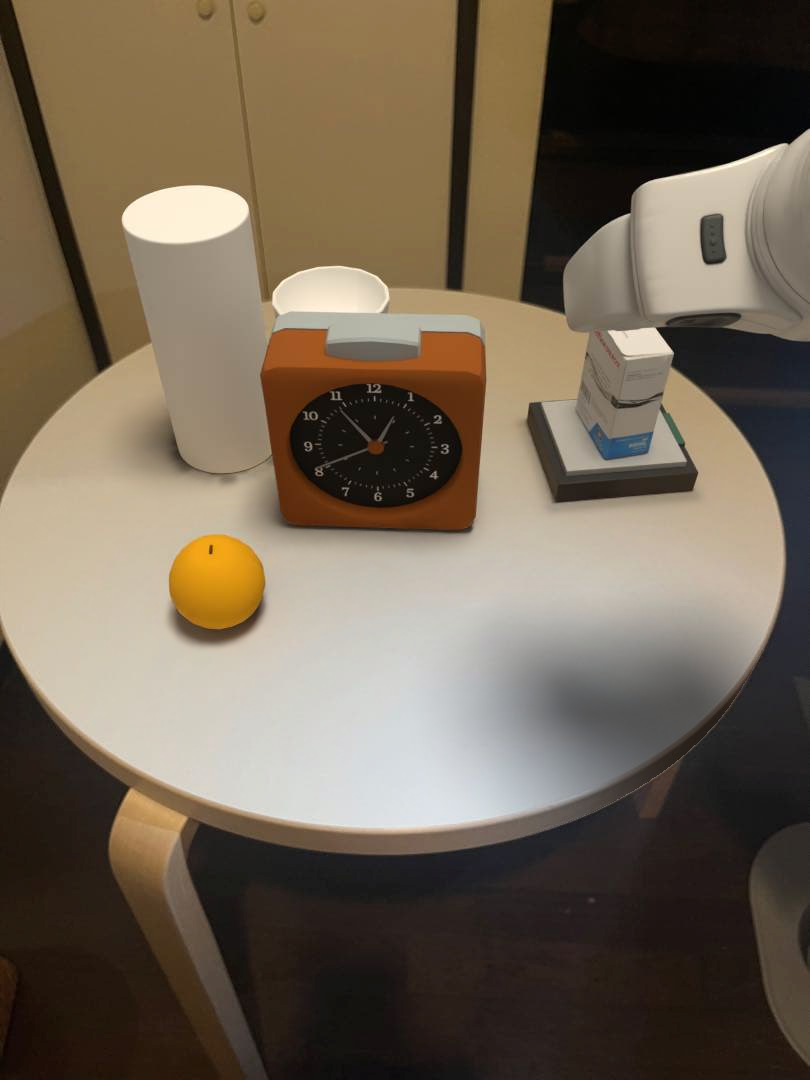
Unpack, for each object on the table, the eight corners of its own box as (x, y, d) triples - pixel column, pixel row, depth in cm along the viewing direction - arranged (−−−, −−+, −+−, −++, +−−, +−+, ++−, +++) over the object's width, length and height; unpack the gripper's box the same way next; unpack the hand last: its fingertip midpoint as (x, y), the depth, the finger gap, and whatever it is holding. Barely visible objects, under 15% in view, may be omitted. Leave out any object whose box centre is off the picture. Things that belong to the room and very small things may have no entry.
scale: (651, 410, 95) (657, 387, 92) (693, 490, 86) (700, 467, 83) (526, 420, 93) (529, 397, 91) (555, 502, 85) (559, 478, 82)
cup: (260, 394, 97) (247, 307, 89) (320, 340, 104) (313, 255, 96) (355, 428, 92) (350, 339, 84) (410, 369, 100) (411, 282, 92)
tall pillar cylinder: (300, 435, 92) (274, 208, 74) (225, 488, 86) (177, 255, 68) (232, 396, 96) (192, 173, 78) (156, 444, 91) (94, 215, 73)
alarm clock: (280, 528, 82) (252, 343, 67) (293, 467, 88) (269, 285, 73) (474, 533, 82) (489, 348, 67) (473, 472, 88) (487, 289, 73)
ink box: (650, 454, 85) (678, 352, 76) (603, 461, 84) (625, 359, 76) (617, 402, 91) (639, 302, 82) (573, 408, 90) (590, 308, 81)
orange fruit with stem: (162, 634, 73) (142, 575, 68) (198, 567, 79) (182, 508, 73) (251, 651, 72) (238, 593, 67) (281, 581, 77) (272, 522, 72)
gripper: (1026, 160, 41) (851, 252, 55) (607, 183, 39) (535, 272, 53) (1034, 293, 41) (858, 351, 55) (618, 321, 39) (544, 374, 53)
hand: (697, 312), depth 54 cm, fingers open, 8 cm apart
